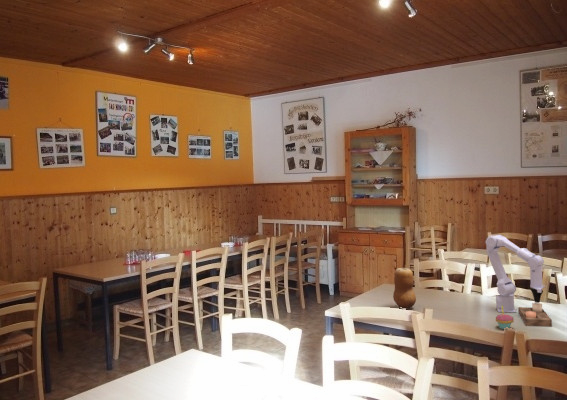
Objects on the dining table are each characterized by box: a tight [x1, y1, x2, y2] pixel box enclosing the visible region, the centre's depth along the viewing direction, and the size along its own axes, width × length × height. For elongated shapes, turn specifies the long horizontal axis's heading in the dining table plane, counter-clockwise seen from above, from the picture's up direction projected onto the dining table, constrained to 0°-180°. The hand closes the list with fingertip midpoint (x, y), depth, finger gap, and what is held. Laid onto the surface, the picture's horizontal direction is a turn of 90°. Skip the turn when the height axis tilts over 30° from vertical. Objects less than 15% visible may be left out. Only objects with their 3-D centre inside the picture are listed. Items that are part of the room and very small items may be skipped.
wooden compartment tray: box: [517, 306, 553, 328], centre depth 255 cm, size 12×22×4 cm, turn 163°
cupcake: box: [495, 306, 514, 330], centre depth 244 cm, size 9×8×12 cm
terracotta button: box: [526, 311, 536, 318], centre depth 251 cm, size 5×5×5 cm
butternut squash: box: [392, 267, 417, 309], centre depth 288 cm, size 14×13×25 cm
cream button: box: [531, 302, 543, 312], centre depth 259 cm, size 5×5×5 cm
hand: (537, 302), depth 258 cm, fingers closed
